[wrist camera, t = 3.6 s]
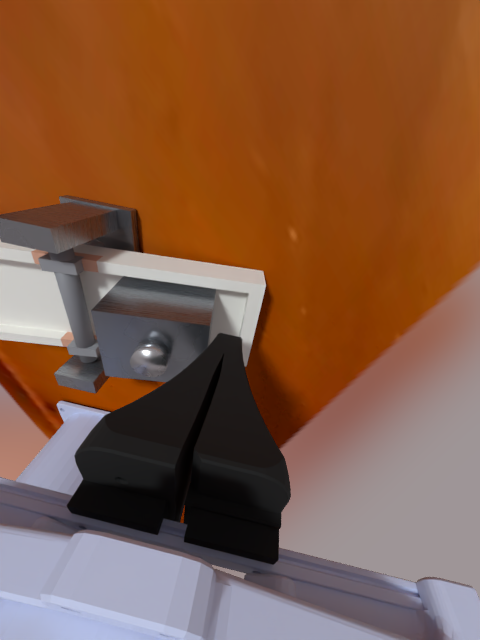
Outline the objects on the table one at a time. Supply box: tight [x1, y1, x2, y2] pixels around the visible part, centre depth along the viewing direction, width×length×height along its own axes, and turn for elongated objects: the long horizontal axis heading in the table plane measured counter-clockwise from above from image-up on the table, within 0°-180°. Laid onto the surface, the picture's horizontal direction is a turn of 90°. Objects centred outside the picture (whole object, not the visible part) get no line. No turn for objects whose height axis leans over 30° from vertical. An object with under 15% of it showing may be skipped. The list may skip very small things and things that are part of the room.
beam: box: [0, 240, 266, 366], centre depth 14 cm, size 7×20×2 cm, turn 81°
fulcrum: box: [0, 195, 140, 393], centre depth 14 cm, size 10×4×5 cm, turn 171°
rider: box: [91, 276, 216, 382], centre depth 13 cm, size 4×5×4 cm
